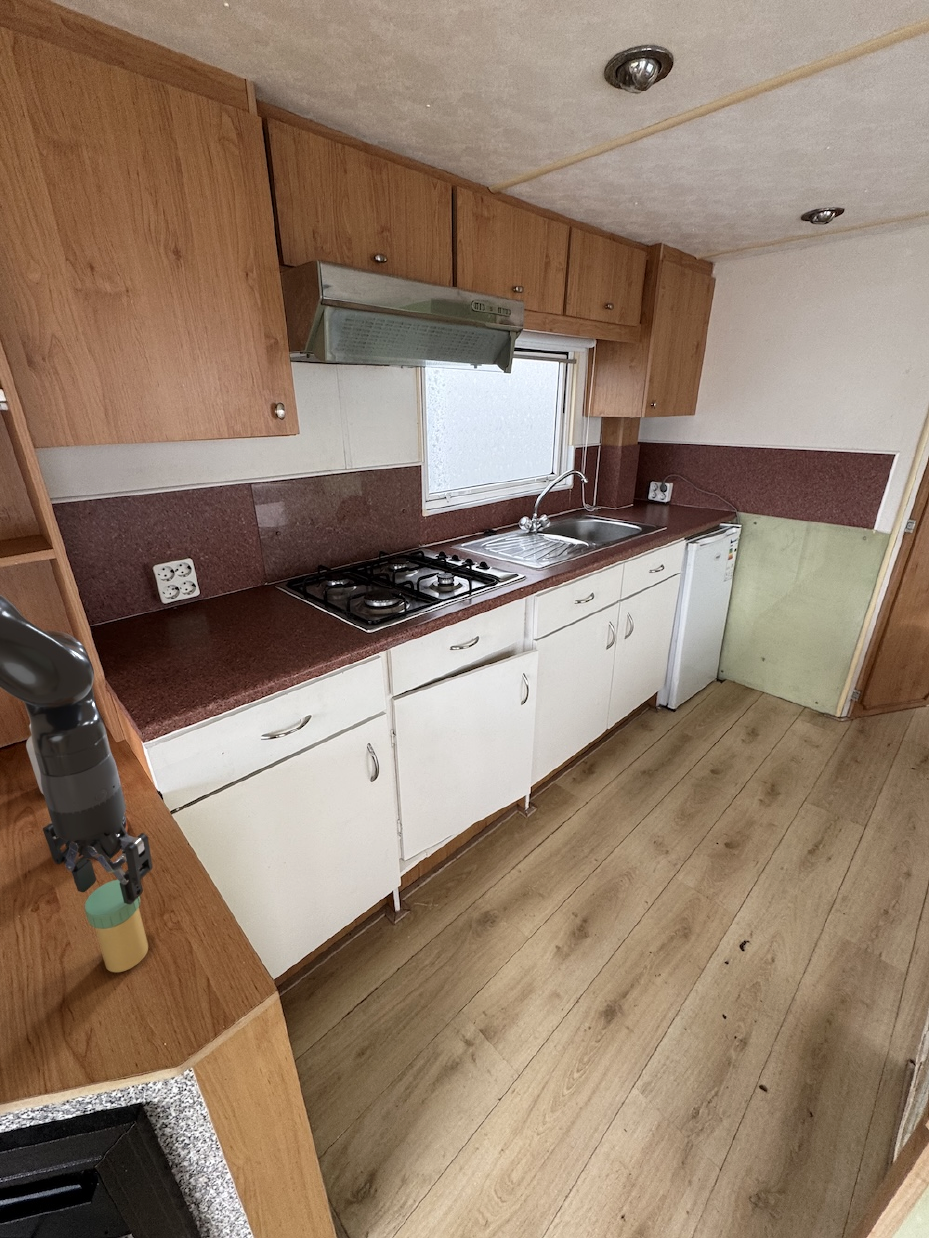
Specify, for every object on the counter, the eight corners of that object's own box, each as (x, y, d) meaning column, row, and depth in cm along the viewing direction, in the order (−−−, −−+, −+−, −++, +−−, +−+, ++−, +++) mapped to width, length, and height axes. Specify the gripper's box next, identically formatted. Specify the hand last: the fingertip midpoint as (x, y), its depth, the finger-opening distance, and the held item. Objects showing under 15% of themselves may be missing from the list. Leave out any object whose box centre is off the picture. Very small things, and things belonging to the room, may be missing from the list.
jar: (127, 976, 72) (112, 921, 69) (95, 967, 73) (79, 912, 70) (156, 942, 77) (144, 889, 73) (126, 934, 78) (113, 881, 75)
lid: (151, 896, 74) (148, 883, 73) (114, 934, 69) (110, 920, 68) (115, 886, 76) (112, 874, 75) (76, 923, 70) (72, 910, 69)
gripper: (156, 781, 68) (176, 882, 73) (64, 762, 71) (90, 861, 76) (106, 821, 61) (133, 929, 67) (6, 798, 64) (39, 903, 70)
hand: (110, 892), depth 71 cm, fingers open, 7 cm apart
